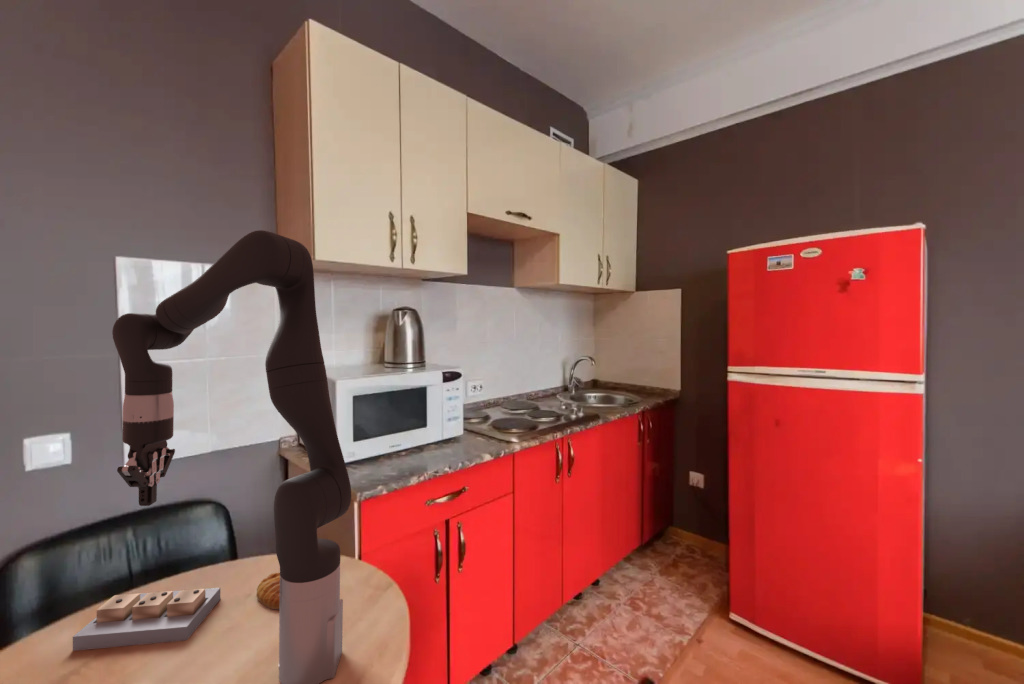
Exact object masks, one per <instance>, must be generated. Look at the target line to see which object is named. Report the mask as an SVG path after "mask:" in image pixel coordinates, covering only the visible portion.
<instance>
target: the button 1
mask: <svg viewBox="0 0 1024 684" xmlns="http://www.w3.org/2000/svg"><path fill="white" fill-rule="evenodd" d="M140 594H141V593H140V592H139V593H127V594H115V595H113V596H112V597H111V598H110V599H108V600H107V601H105V602H104V603H103V604H102V605H101V606H99V607H98V608H97V609H96V617H97V623H102V622H114V621H124V620H125V619H126V618H127V617H129V616H130V615H131V614H132V607H133V606H134V605H135V604H136V603H137V602H138V601H140Z"/></svg>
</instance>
